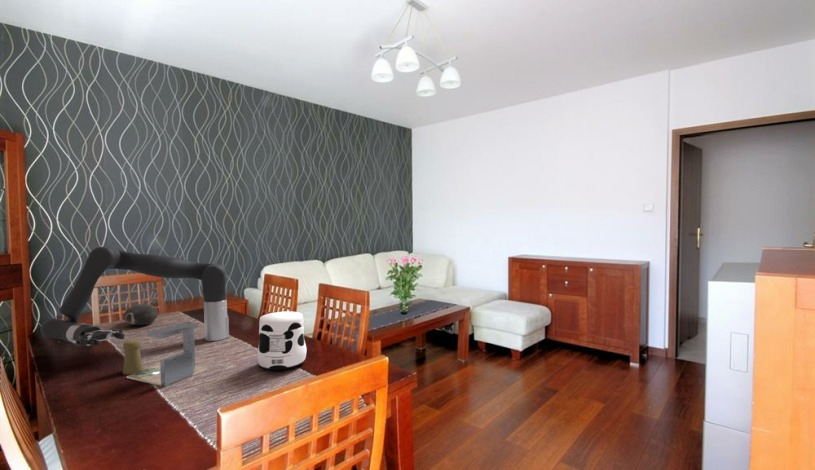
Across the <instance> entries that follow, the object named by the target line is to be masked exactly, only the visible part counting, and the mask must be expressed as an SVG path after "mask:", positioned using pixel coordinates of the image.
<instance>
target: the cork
mask: <svg viewBox="0 0 815 470" xmlns="http://www.w3.org/2000/svg"><path fill="white" fill-rule="evenodd" d="M141 345H142V342H141V340H140V339H128V340H126V341H125V342H124V343H123V345H122V347H123V348H122V349H123V350H124V359H123V366H122V374H123V375H132V374H135V373H137V372H139V371H142V370H144V366H143V362H142V356H141V352H140V351H141V350H140V348H141Z"/></svg>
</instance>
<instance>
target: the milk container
mask: <svg viewBox="0 0 815 470" xmlns="http://www.w3.org/2000/svg"><path fill="white" fill-rule="evenodd" d="M304 322H305V321H304V315H303V313H301V312H298V311H278V312H270V313H266V314H264V315H262V316H260V317H259V323H258V325H259V329H258V336H259V339H258V341H259V343H258V347H257V351H256V358H257V363H258V365H259V366H260V367H261V368H263V369H266V370H270V371H280V370H281V371H283V370H287V369H292V368H295V367H297V366H299V365H301V364H302V363H304V361H305V360H306V358H307V349H308V348H307V344H306V341H305V334H304V331H305V329H304V326H305V325H304Z"/></svg>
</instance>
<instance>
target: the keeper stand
mask: <svg viewBox="0 0 815 470" xmlns="http://www.w3.org/2000/svg"><path fill="white" fill-rule="evenodd" d="M198 328H199V322H198V323H197V322H191V321H181V322H178V323H174V324H169V325H166V326H163V327H158V328H155V329H152V330H149V331H147V333H146V334H147V335H146V336H147V337H151V338H157V339H165V338H168V337H171V336H175V335H178V334H182V345H183V347H182V349H183V352H179V353H176V354H174V355H171V356H168V357H165V358H162V359H160V360H159V364H158V365H154V366H152V367H148V368H145V369H143V370H142V371H139V372H137V373H134V374H128V375H127V376H126V379H130V380H133V381H138V382H142V383H145V384H146V383H147V384H151V385H155V386H159V387H163V388H166V387H169V386H171V385H174V384H176V383H178V382H180V381H182V380H185V379H188V378H191V377H192V376H195V375H198V374H200V373H202V372H204V371H206V370H207V367H201V366H199V365H198V366H197V365H196V348H195V345H196V344H195V329H198Z"/></svg>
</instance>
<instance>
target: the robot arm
mask: <svg viewBox="0 0 815 470" xmlns="http://www.w3.org/2000/svg"><path fill="white" fill-rule="evenodd" d="M115 269H116V270H126V271H133V272H137V273H140V274H143V275H146V276H151V277H156V278H163V279H164V278H165V279H194V280H195V279H196V280H200V281H201V285H202V286H201V287H202V288H201V289H202V297H203V313H204V314H203V315H204V318H203V319H204V340H205V341H206V342H216V341H217V342H218V341H222V340H225V339H228V338H230V331H229V330H230V328H229V327H230V326H229V325H230V323H229V322H230V321H229V315H228V303H227V301H228V300H227V299H228V298H227V296H228V295H227V290H226V278H227V276H228V272H227V268H225V267H224V265H222V264H219V263H208V262H207V263H205V262H196V261H190V260H187V259H182V258H178V257H177V258H176V257H172V256H168V255H159V254H150V253H149V254H148V253H135V252H131V251H130V252H129V251H125V250H121V249H117V248H114V247H111V246H97V247H96V248H94V249H92V250H91V251H90V252H89V255H88V256H87V259H86V261H85V263H84V265H83V268H82V270H81V272H80V275H79V276H78V278H77V281H76V282H75V284H74V285H73V287H72V289H71V290H70V292H69V293H68V295H67V296H66V298H65V299H64V301H63V302H62V305H61V306H60V307H59V310H58V312H59V313H60V314H61V315H63V316H66V317H67V318H66V320H65V319H64V320H63V319H58V318H57V319H56V318H51V319H47V320H46V321H44V322H43V323H42V324H41V327H40V333H41V335H42V336H43V337H45V338H51V339H59V340H64V341H67V342H71V343H72V345H74V346H76V347H80V348H83V347H85V346H94V347H98V346H99V345H100V342H102V341H110V340H111V341H112V339H116V340H117V339H118V340H124V339H125V333H123V329H119V328H114V327H113V328H112V327H111V328H110V329H107V330H104V329H101V328H100V327H99V326H97V325H93V324H87V323H82V322H81V323H80V322H79V320H80V317H81V315H82V312H83V311H84V309H85V307H86V306H87V304H88V303H89V300H90V299H91V296H92V294H93V292H94V289H95V286H96V284H97V282H98V281H99V279H100V277H101V276H102V275H103V274H104V272H105V271H107V270H115Z"/></svg>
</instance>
